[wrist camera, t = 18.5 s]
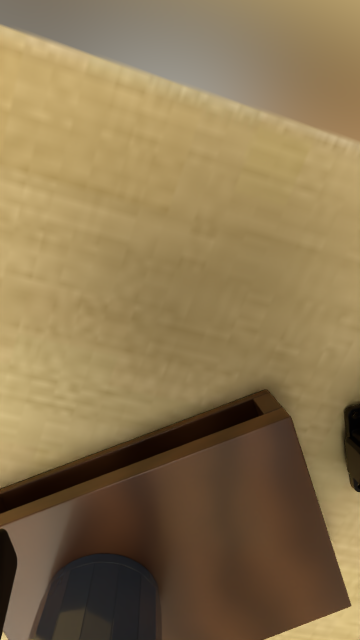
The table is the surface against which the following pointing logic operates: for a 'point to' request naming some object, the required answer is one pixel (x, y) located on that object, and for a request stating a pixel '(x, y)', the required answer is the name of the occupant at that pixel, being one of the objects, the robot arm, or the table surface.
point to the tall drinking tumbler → (100, 602)
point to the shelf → (187, 525)
